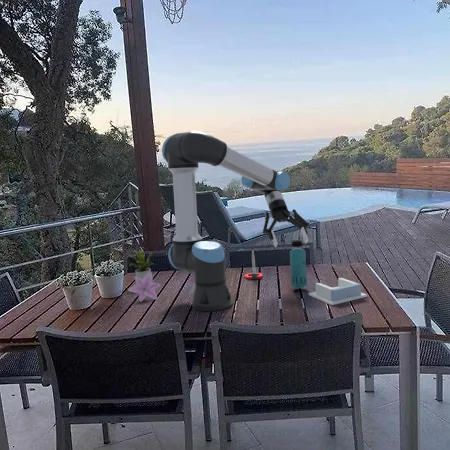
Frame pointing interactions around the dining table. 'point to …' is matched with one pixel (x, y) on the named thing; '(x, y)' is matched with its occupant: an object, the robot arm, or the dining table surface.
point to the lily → (145, 287)
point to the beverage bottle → (298, 265)
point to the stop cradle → (338, 292)
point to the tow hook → (253, 271)
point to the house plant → (141, 264)
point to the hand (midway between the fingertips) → (291, 243)
